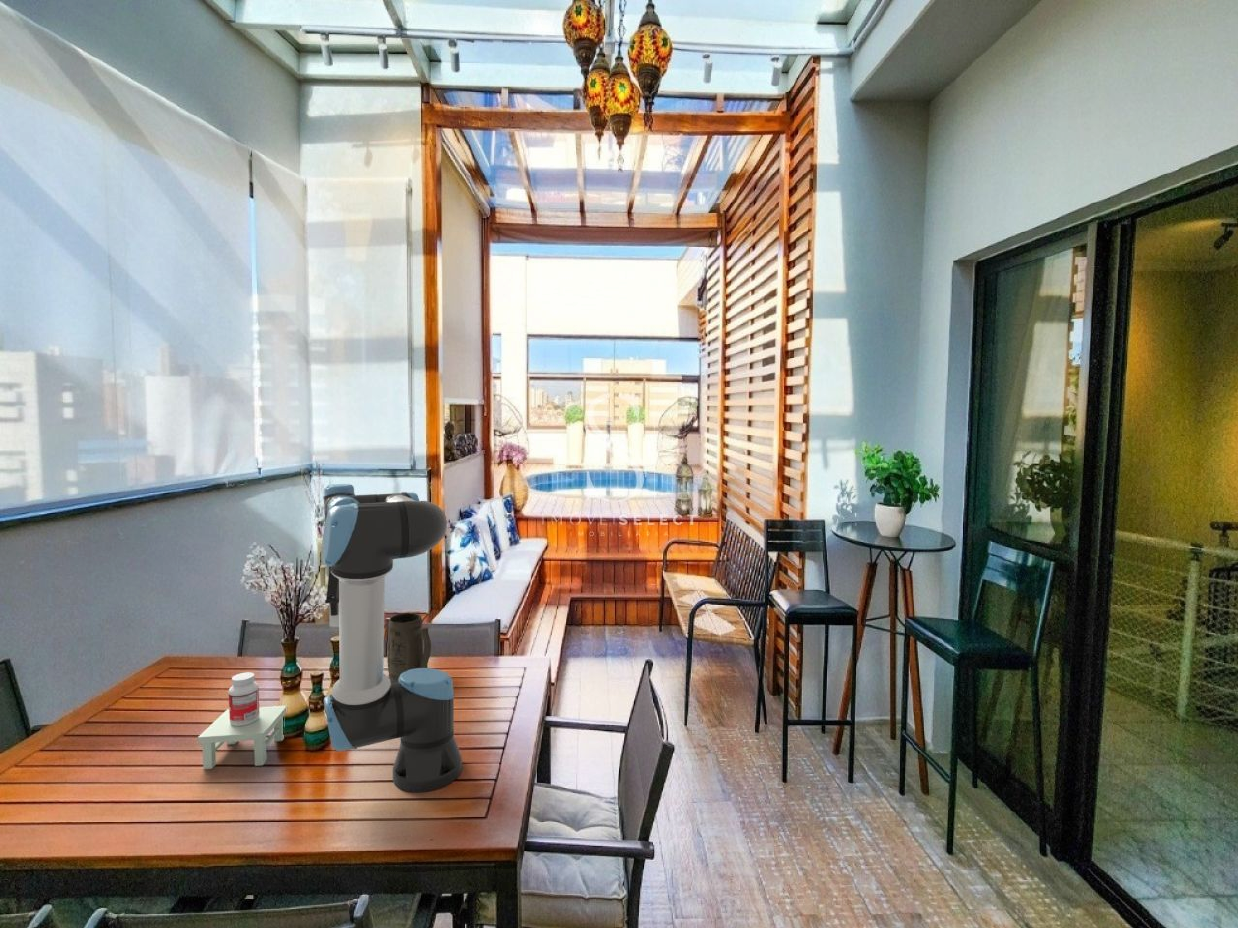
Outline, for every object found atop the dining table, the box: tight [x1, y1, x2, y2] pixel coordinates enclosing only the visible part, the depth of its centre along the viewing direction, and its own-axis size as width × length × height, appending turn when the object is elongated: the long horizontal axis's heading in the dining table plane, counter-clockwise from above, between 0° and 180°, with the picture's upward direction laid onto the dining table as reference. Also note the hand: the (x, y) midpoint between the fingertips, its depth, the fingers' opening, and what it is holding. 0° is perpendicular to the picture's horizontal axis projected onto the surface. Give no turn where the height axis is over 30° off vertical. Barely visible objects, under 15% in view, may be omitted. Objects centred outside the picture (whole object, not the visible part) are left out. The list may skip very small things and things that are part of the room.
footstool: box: [197, 705, 288, 770], centre depth 148 cm, size 14×14×8 cm
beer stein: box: [386, 612, 432, 683], centre depth 189 cm, size 15×11×20 cm
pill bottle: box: [228, 671, 260, 726], centre depth 147 cm, size 6×6×11 cm
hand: (342, 618), depth 166 cm, fingers open, 13 cm apart
